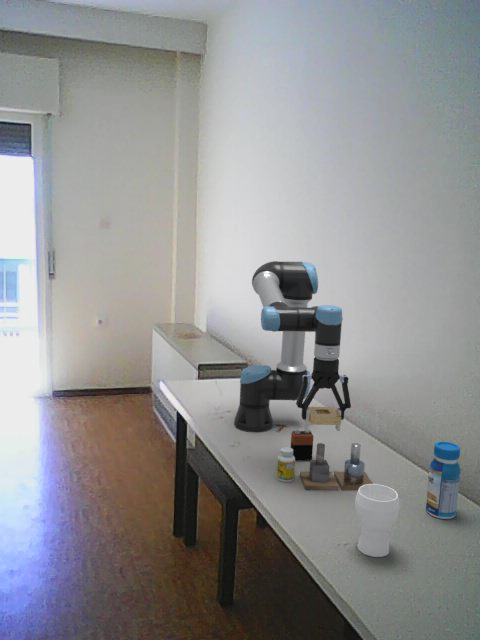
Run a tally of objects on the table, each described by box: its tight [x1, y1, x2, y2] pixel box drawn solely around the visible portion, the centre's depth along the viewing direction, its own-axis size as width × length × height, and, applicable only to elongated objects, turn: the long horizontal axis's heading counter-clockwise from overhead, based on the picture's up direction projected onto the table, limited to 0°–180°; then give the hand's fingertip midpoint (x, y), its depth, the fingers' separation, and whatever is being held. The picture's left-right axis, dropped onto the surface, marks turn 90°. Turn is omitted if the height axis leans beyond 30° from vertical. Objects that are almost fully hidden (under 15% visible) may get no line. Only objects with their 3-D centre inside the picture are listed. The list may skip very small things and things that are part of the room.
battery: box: [290, 429, 314, 462], centre depth 201 cm, size 4×7×10 cm, turn 97°
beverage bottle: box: [425, 441, 462, 520], centre depth 166 cm, size 8×8×20 cm
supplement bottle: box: [276, 446, 296, 483], centre depth 185 cm, size 5×5×10 cm
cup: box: [354, 483, 400, 558], centre depth 146 cm, size 11×11×15 cm
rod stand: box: [299, 442, 340, 491], centre depth 182 cm, size 10×10×12 cm
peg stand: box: [333, 442, 374, 491], centre depth 183 cm, size 10×10×12 cm
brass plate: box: [308, 406, 342, 426], centre depth 180 cm, size 9×9×2 cm
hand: (321, 429), depth 180 cm, fingers closed on brass plate, 9 cm apart
